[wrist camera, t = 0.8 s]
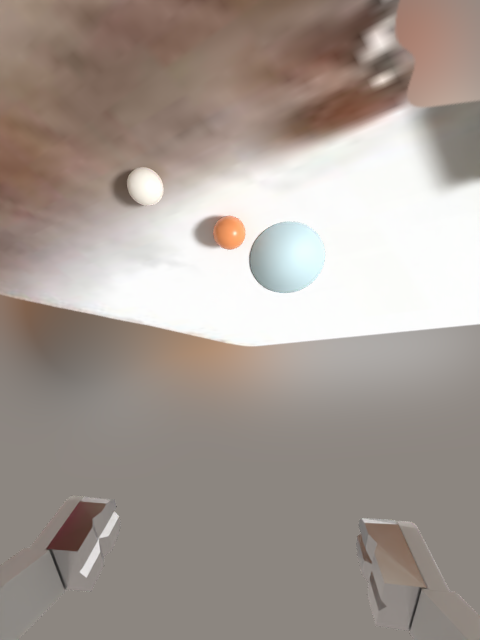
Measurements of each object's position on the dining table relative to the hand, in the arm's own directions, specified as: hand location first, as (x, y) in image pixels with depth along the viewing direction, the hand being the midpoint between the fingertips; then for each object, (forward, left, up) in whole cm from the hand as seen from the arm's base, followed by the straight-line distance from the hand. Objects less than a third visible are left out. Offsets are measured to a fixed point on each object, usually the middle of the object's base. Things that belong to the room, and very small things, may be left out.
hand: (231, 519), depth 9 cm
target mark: (+4, +9, -45) cm, 46 cm away
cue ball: (+4, -18, -42) cm, 46 cm away
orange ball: (+4, -3, -42) cm, 43 cm away
